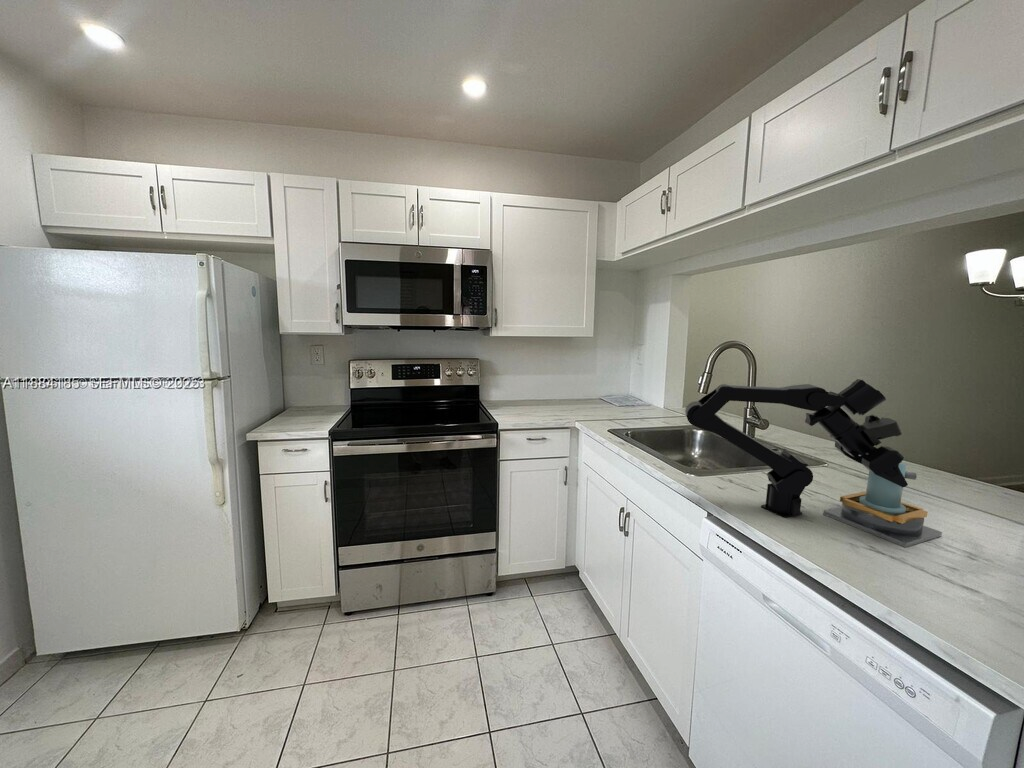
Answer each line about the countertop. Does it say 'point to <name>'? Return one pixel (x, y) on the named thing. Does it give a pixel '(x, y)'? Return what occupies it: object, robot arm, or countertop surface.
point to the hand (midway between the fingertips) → (893, 478)
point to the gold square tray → (884, 521)
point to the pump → (886, 493)
